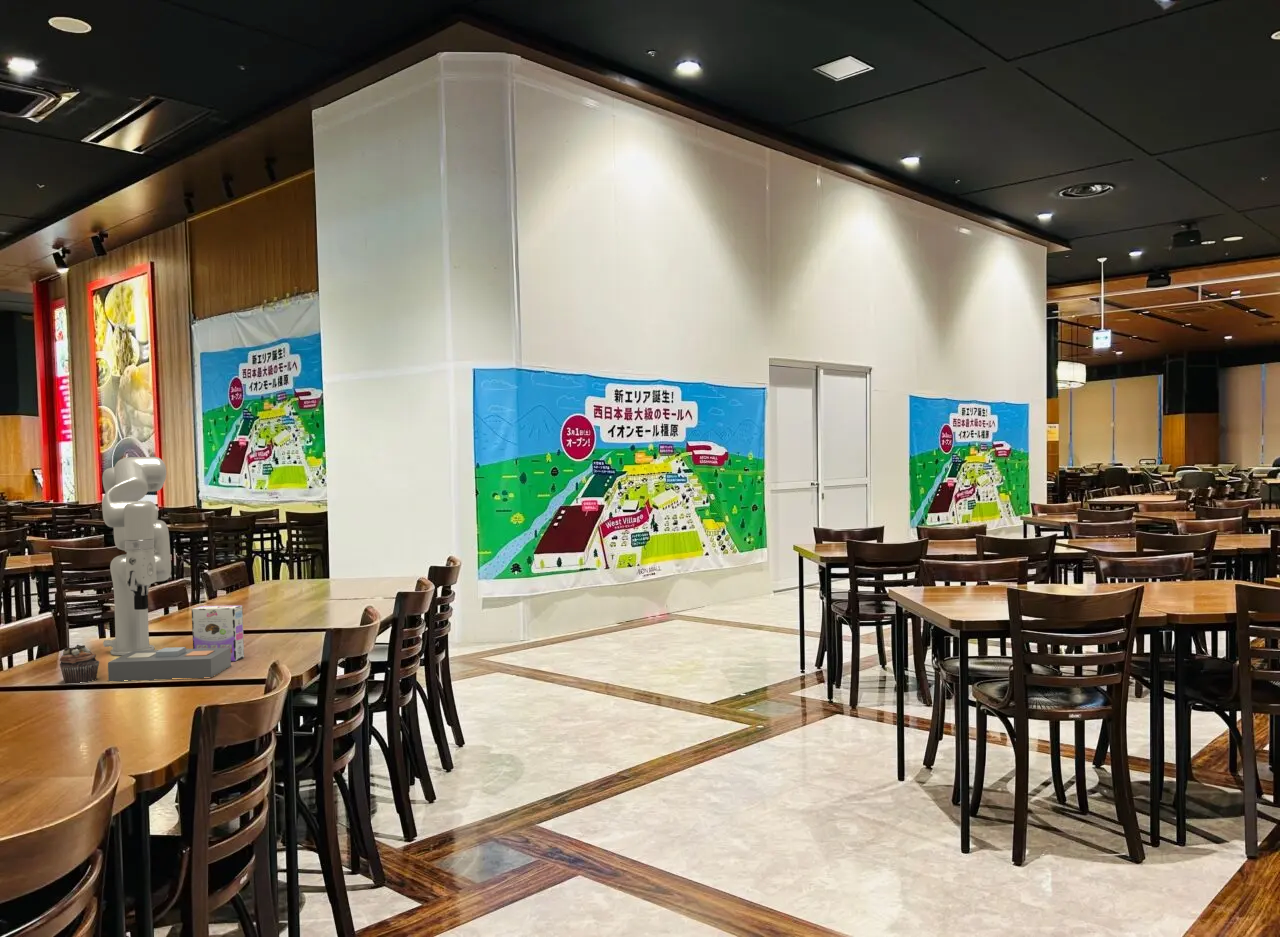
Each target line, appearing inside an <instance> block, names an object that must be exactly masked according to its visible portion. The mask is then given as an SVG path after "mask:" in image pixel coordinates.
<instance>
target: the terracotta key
mask: <svg viewBox="0 0 1280 937" xmlns="http://www.w3.org/2000/svg"><path fill="white" fill-rule="evenodd" d="M213 652H214V651H192V652H190V653H189V654H187V655H185V656H207V655H209V654H211V653H213Z"/></svg>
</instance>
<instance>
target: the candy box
mask: <svg viewBox="0 0 1280 937" xmlns="http://www.w3.org/2000/svg"><path fill="white" fill-rule="evenodd" d="M243 609H244V608H243V605H201V606H196V607H193V608H191V609H190V610H191V627H192V628H191V629H192V631H191V632H192V649H200V648H230V647H231V662H236V661H239V660H241V659H244V658H245V647H244V646H245V644H244V643H245V642H244V619H243V618H244V614H243V611H244V610H243Z"/></svg>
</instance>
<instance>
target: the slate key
mask: <svg viewBox="0 0 1280 937" xmlns="http://www.w3.org/2000/svg"><path fill="white" fill-rule="evenodd" d="M186 649H187V648H186V646H179V647H163V648H162V649H158V650H159V651H157V652H156V657H179V656H181V655H182V654H184V653H186Z"/></svg>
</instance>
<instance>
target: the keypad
mask: <svg viewBox="0 0 1280 937" xmlns="http://www.w3.org/2000/svg"><path fill="white" fill-rule="evenodd" d="M159 650H160V649H154V650H140V651H132V652H129V653H127V654H125V655H120V656H119V657H116V658H114V659H112V660H110V661H108V662H107V678H108V680H107V681H121V682H125V681H124V680H128V681H127V682H132V681H131V680H149V681H155V680H154V679H172V678H204V677H213V676H214V675H216V674H217V675H219V674H221V673H222V672H224V671H225V670H227V669H228V668H230V667H231V666H232V661H231V647H230V648H200V649H193V648H186V653H184V654H182V655H181V656H179V657H156V655H154V656H152V657H150V658H127V657H129V656H131V655H133V654H136V653H156V652H157V651H159ZM192 651H214V652H213V653H211V654H209V655H207V656H185V655H187V654H189V653H190V652H192ZM226 668H227V669H226ZM223 670H224V671H223ZM221 671H222V672H221ZM218 673H219V674H218ZM217 675H216V676H217ZM214 677H215V676H214ZM214 677H213V678H214Z"/></svg>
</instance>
